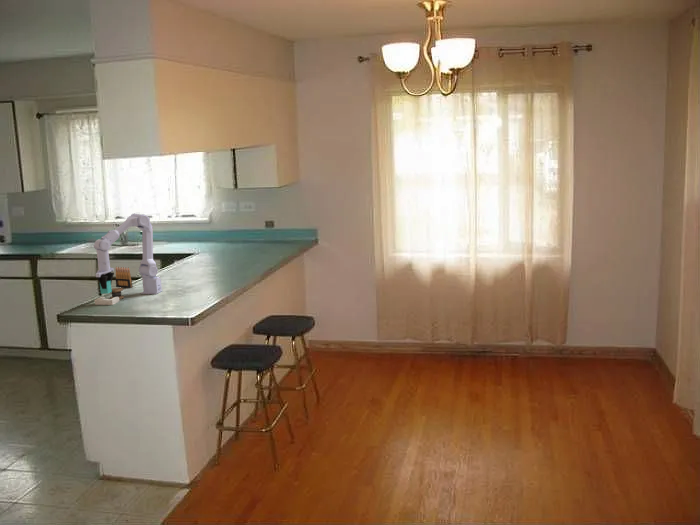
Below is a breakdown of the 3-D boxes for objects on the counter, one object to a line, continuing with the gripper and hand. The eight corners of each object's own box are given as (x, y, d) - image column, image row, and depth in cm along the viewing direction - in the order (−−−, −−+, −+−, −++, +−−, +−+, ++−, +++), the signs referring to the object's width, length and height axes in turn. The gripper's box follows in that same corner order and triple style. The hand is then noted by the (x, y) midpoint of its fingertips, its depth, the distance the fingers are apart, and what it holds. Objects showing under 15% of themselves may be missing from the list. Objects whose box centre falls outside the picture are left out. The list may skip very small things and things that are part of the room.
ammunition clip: (116, 287, 399) (113, 266, 397) (118, 286, 401) (116, 266, 399) (130, 288, 395) (128, 267, 393) (132, 287, 397) (130, 267, 394)
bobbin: (126, 296, 375) (125, 288, 374) (119, 299, 368) (118, 291, 367) (114, 296, 376) (113, 287, 375) (107, 299, 370) (106, 291, 369)
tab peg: (111, 291, 364) (110, 280, 363) (108, 293, 360) (106, 282, 359) (104, 291, 365) (103, 280, 364) (100, 293, 361) (99, 282, 360)
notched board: (119, 301, 365) (118, 296, 365) (112, 304, 358) (112, 300, 358) (102, 301, 367) (101, 296, 367) (95, 304, 360) (94, 300, 360)
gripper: (104, 259, 367) (106, 284, 370) (89, 265, 353) (92, 290, 356) (116, 259, 366) (118, 284, 369) (101, 265, 352) (104, 291, 355)
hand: (106, 287), depth 362 cm, fingers closed on tab peg, 4 cm apart
